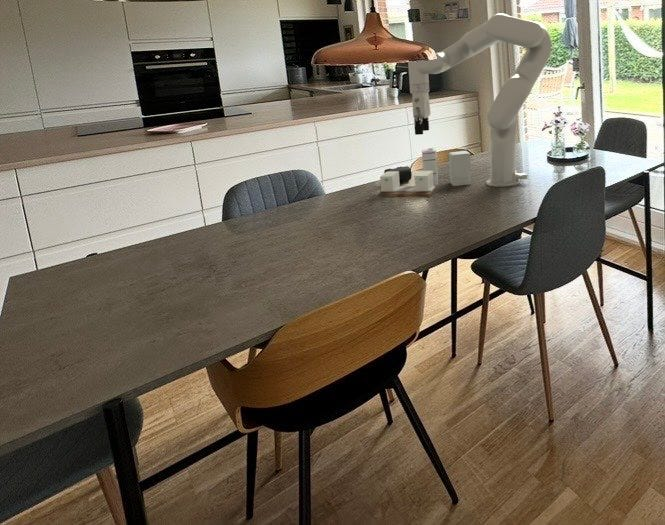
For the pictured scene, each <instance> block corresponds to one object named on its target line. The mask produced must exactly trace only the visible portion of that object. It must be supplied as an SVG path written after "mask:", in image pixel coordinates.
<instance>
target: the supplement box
mask: <svg viewBox="0 0 665 525" xmlns="http://www.w3.org/2000/svg"><path fill="white" fill-rule="evenodd" d="M448 160H449V164H448V165H449V169H448V170H449V183H450V184H451V186H453V187H456V186H458V187H459V186H468V185H471V184H472V182H471V181H472V174H471V170H472V169H471V168H472V167H471V166H472V165H471V153H470V152H469V151H467V150H460V151H453V152H449V153H448Z"/></svg>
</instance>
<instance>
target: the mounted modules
mask: <svg viewBox="0 0 665 525" xmlns="http://www.w3.org/2000/svg"><path fill="white" fill-rule="evenodd" d="M379 180H380V190H381V191H394V190H395V189H397V188H398V187H399V186H400V185H401V183H400V181H399V171H389V172H386V173H382V175H380V177H379ZM414 182H415V183H414V186H415V191H429V190H430V189H431V188H432V187H433V186H434V183H433V171H423V170H419V172H417V173H416V174H415V175H414Z"/></svg>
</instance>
